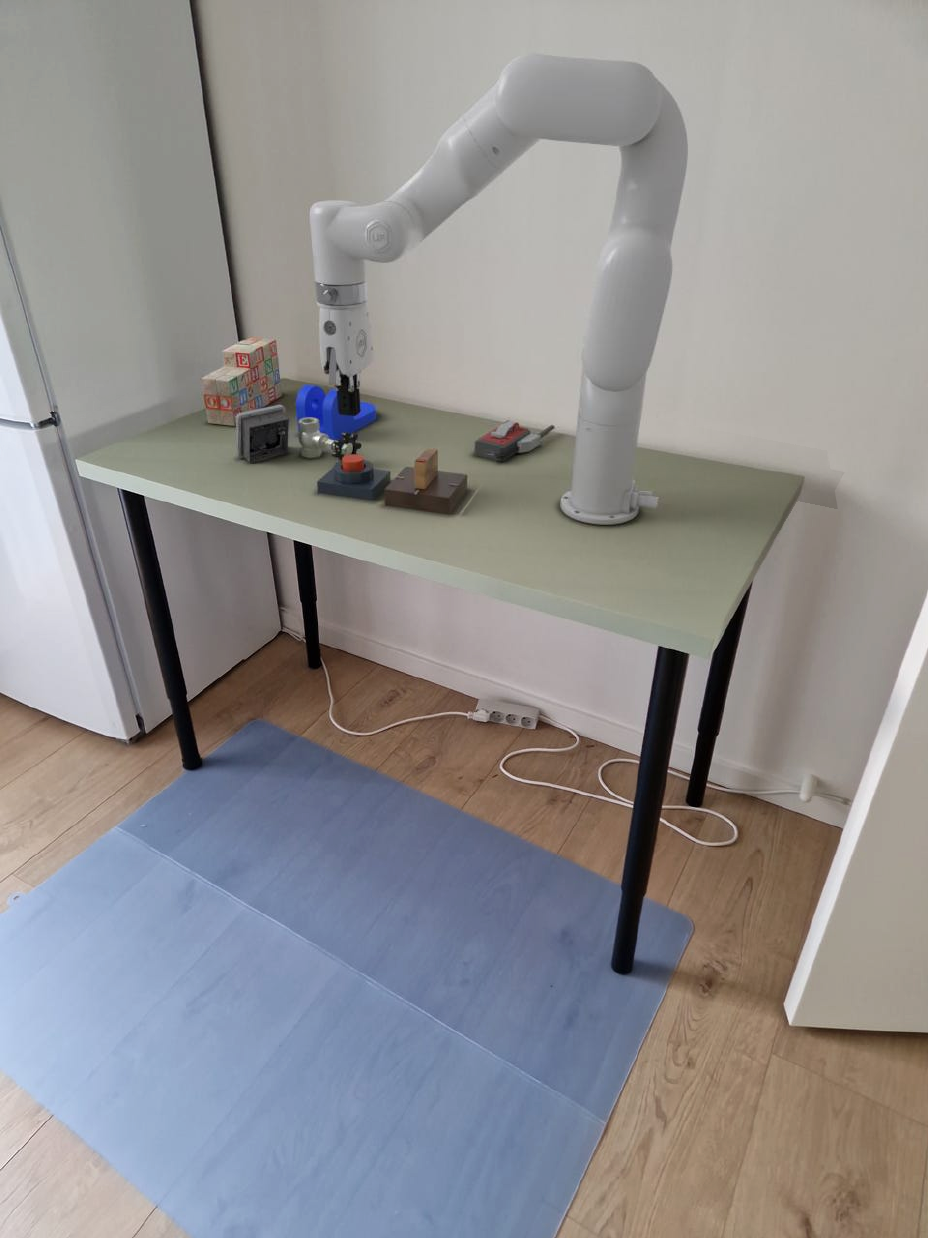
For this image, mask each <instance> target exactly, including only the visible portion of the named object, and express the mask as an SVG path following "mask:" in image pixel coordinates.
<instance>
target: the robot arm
mask: <svg viewBox="0 0 928 1238" xmlns="http://www.w3.org/2000/svg"><path fill="white" fill-rule="evenodd" d="M541 140H547V141H554V142H555V141H556V142H567V143H578V144H590V145H598V146H599V145H600V146H610V147H618V149H619V152H620V162H621V163H620V170H619V177H618V183H617V188H616V194H615V201H614V206H613V210H612V216H611V219H610V220H611V221H610V225H609V230H608V233H607V238H606V240H605V243H604V245H603V248H602V251H601V252H600V257H599V260H598V266H597V270H596V275H595V281H594V286H593V292H592V297H591V302H590V307H589V311H588V318H587V322H586V328H585V331H584V336H583V341H582V348H581V353H580V356H581V357H580V358H581V359H580V360H581V365H582V369H581V379H580V390H579V399H578V412H577V420H576V432H575V444H574V455H573V465H572V476H571V488H570V489H571V490H569V491H567V492H565V493H564V494H563V495H562V496H561V497H560V505H559V506H560V510H561V512H563V513H564V514H565V515H566V516H568V517H569V518H571V519H573V520H576V521H578V522H582V523H586V524H591V525H598V526H599V525H600V526H612V525H619V524H624V523H627V522H629V521H631V520H633V519H634V518H636V517H637V515H638V514H639V508H646V509H650V510H658V506H659V500H660V497H659V496H653V491H649V490H648V491H647V490H639V488H636V480H635V479H633V478H634V473H635V464H636V456H637V449H638V443H639V442H638V441H639V433H640V426H641V419H642V413H643V406H644V399H645V398H644V397H645V390H646V382H647V372H648V371H649V368H650V366H651V363H652V360H653V356H654V352H655V350H656V349H655V348H656V345H657V341H658V337H659V333H660V329H661V325H662V322H663V317H664V313H665V309H666V304H667V301H668V296H669V294H670V293H669V292H670V287H671V283H672V276H673V257H672V243H673V238H674V233H675V228H676V223H677V219H678V215H679V211H680V206H681V205H680V204H681V200H682V196H683V189H684V186H685V180H686V174H687V167H688V159H689V144H688V134H687V128H686V124H685V121H684V117H683V115H682V112H681V109H680V107H679V105H678V103H677V101H676V99H675V98H674V96H673V95H672V94H671V92H670V91H669V90H668V89H667V87H666V86H665V85H664V84H663V83H662V82H661V81H660V80H659V79H658V78H657V77H656V76H655V74H654V73H653V72H652V71H651V70H650V69H649V68H648V67H647V66H645V65H643V64H642V63H639V62H635V61H626V60H610V59H597V58H596V59H595V58H583V57H569V56H568V57H566V56H559V55H558V56H557V55H549V54H543V53H538V52H537V53H536V52H530V53H529V52H527V53H523V54H520V55H519V56H517V57H515V58H513V59H512V60H511V61H509V62H508V63H507V65H506V66H505V67H504V68H503V69H502V71H501V73H500V74H499V77H498V79H497V82H496V83H495V84H494V85H493V86H492V87H491V88H490V89H489V90H488V91H487V92H486V93H485V94H484V95H483V96H482V97H481V98H480V99H479V100H478V101H477V102H476V103H474V104H473V106H471V107H470V108H469V109H468V110H467V111H466V112H465V113H464V114H463V115H461V116H460V117H459V118H458V119H457V120H456V121H455V122H454V123H453V124H452V125H451V126H450V127H448V128H447V129H446V131H444V133H443V134H442V136H441V137H440V139H439V140H438V142H437V144H436V146H435V150H434V151H433V152H432V154H431V156H430V157H429V158H428V160H426V162H425V163H424V164H423V165H422V166H421V167H420V169H418V171H417V172H415V174H414V175H413V176H412V177H410V178H409V179H408V180H407V181H406V182H405V183H404V184H403V185H402V186H401V187H400V188H399V189H397V191H395V192H394V193H393V194H392V195H391V196H389V198H387V199H384V200H382V201H380V202H377V203H374V204H370V205H361V206H360V205H359V204H358V203H356V202H355V201H350V200H340V199H338V200H336V199H334V200H333V199H332V200H331V199H330V200H321V201H317V202H315V203H313V204H312V205H311V206H310V210H309V224H310V225H309V226H310V236H311V237H310V238H311V247H312V249H311V250H312V260H313V272H314V274H313V275H314V284H315V296H316V305H317V306H318V307H319V311H318V312H319V313H318V317H319V318H318V324H319V325H318V332H319V333H318V335H319V337H318V338H319V339H318V340H319V355H320V357H319V358H320V366H321V370H322V372H323V373H324V374H325V375H328V385H329V386H334V389H335V390H336V391H337V401H338V413H339V414H341V415H349V416H356V415H357V414H359V413H360V412H361V410H360V402H361V394H360V393H361V392H360V387H361V372H362V371H363V370H365V369H366V368H367V367H369V366H370V365H371V364H372V363H373V361H374V347H373V337H372V326H371V318H370V313H369V307H368V291H367V270H366V268H367V267H366V261H369V262H373V263H381V264H387V263H388V264H389V263H392V262H393V263H394V262H396V261H398V260H399V259H401V258H403V257H404V256H405V255H406V254H407V253H409V252H411V251H412V250H414V249H415V248H416V247H417V246H418V245H420V244H421V243H422V242H423V241H424V240H425V239H427V238H428V237H429V236H430V235H431V234H432V233H433V232H434V231H435V230H437V228H439V227H440V226H441V225H442V224H444V222H446V221H447V220H448V219H449V218H450V217H451V216H453V214H454V213H455V212H457V211H458V210H459V209H460V208H461V207H462V206H463V205H465V204H466V203H467V202H469V201H471V200H472V199H474V198H476V197H477V196H478V195H479V194H480V193H481V192H483V191H484V190H485V189H486V188H487V187H488V186H490V185H491V184H492V183H493V182H494V181H495V180H496V179H497V178H498V177H500V176H501V175H502V174H503V173H504V172H505V171H506V170H507V169H508V168H510V167H511V166H512V165H513V164H514V163H515V162H516V161H517V160H518V159H520V158H521V157H522V156H523V155H524V154H525V153H526V152H528V151H529V150H530V149H531V148H532V147H533V146H535V145H536V144H537V143H538V142H540V141H541Z"/></svg>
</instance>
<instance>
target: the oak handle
mask: <svg viewBox="0 0 928 1238" xmlns="http://www.w3.org/2000/svg"><path fill="white" fill-rule="evenodd" d="M413 468H414V476H415V488H418V489H426V488H427V487H428V485H429V484H430V483H431V482H432V481H433V480H434V478H435V477H436V476H437V475H438V471H439V450H438V448H432V447H431V448H430V447H427V448H426V449H425V450H424V451H423V452H422V453H421V455H419V456H418V457H416V459H415V461H414V462H413Z"/></svg>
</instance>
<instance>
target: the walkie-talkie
mask: <svg viewBox="0 0 928 1238" xmlns="http://www.w3.org/2000/svg"><path fill="white" fill-rule="evenodd" d="M555 428H556V427H555V425H553V424H551V425H549V426H548V427H546V428H545V429H543V430H542V431H540V432H539V433H532V432H531V430H530V429H529V428H527V427H523V426H520V423H519V422H516V421H511V420H506V421H504V422H503V423H501V424H499V425H498V426H497V427H496V428H494V429H493V430H491V431H489V432H487V433H486V434H484V435H483V436H481V437H479V438H478V439H476V440H475V441H474V449H473V450H474V451H473V453H474V455H475V456H476V457H477V458H483V459H487V460H492V461H497V462H498V463H500V462H505V461H507V460H508V459H509V458H510V457H513V456H514V455H515V454H517V453H518V454H520V453H529V452H531V451H532V450H533V449H535V448H537V447H539V446H541V440H542V438H544V437H545V436H547V435H548V434H549V433H550V432H552V431H553V430H554V429H555Z"/></svg>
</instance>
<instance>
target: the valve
mask: <svg viewBox="0 0 928 1238" xmlns="http://www.w3.org/2000/svg"><path fill="white" fill-rule="evenodd" d="M298 425H299V431H300V432H298V442H299V444H300V446H301V447H300V453H301V456H302V457H304V458H307V459H313V458H319V457H320V456H321V455H322V453H323V451H326V450H327V449H328V450H330V451H332V452H331V457H332V458H335V459H338V461H337V460H336V461H335V464H336V463H337V462H340V461H342V458H343V457H344V456H345V455H352V454H356V455H359V454H357V451H358V450H361V448H362V446H363V445H362V443H361V442H358V441H357V440H358V438H359V435H358V434H357V433H355V432H353V433H351V434H349V433H348V432H345V431H344V432H342V436H344V437H343V438H342V439H335V441H333V440H330V438H329V436H328V435H327V434H323V433H320V431H319V428H320V426H319V420H318V419H316V418H313V417H306V418H302V419H300V420H299V422H297V426H298ZM348 444H351V445H352V446H350V445H348Z"/></svg>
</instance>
